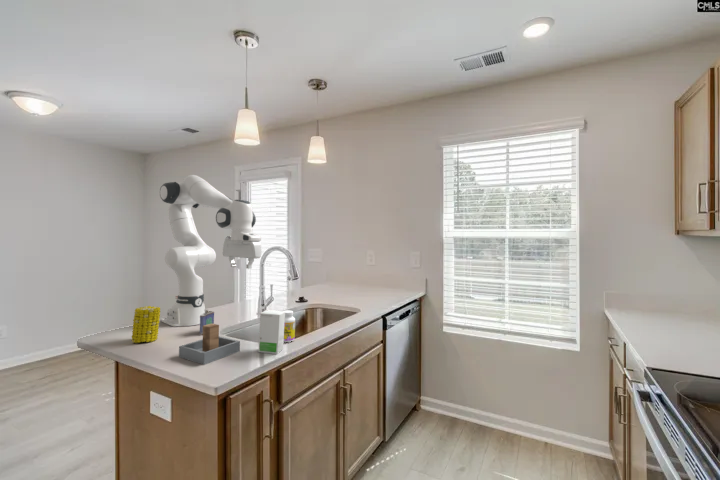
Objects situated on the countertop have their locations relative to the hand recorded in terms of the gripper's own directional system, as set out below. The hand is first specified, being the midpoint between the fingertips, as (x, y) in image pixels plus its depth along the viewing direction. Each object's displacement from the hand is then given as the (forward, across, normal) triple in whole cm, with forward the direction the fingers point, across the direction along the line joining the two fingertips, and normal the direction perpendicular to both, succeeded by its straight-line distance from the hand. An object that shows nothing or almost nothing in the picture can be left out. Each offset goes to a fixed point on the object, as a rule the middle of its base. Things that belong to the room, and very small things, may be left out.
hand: (241, 267), depth 149 cm
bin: (+31, +6, -20) cm, 37 cm away
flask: (+31, -19, -2) cm, 37 cm away
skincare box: (+31, +23, -5) cm, 39 cm away
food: (+31, -30, -23) cm, 49 cm away
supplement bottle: (+31, +20, +8) cm, 38 cm away
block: (+30, +6, -20) cm, 37 cm away
